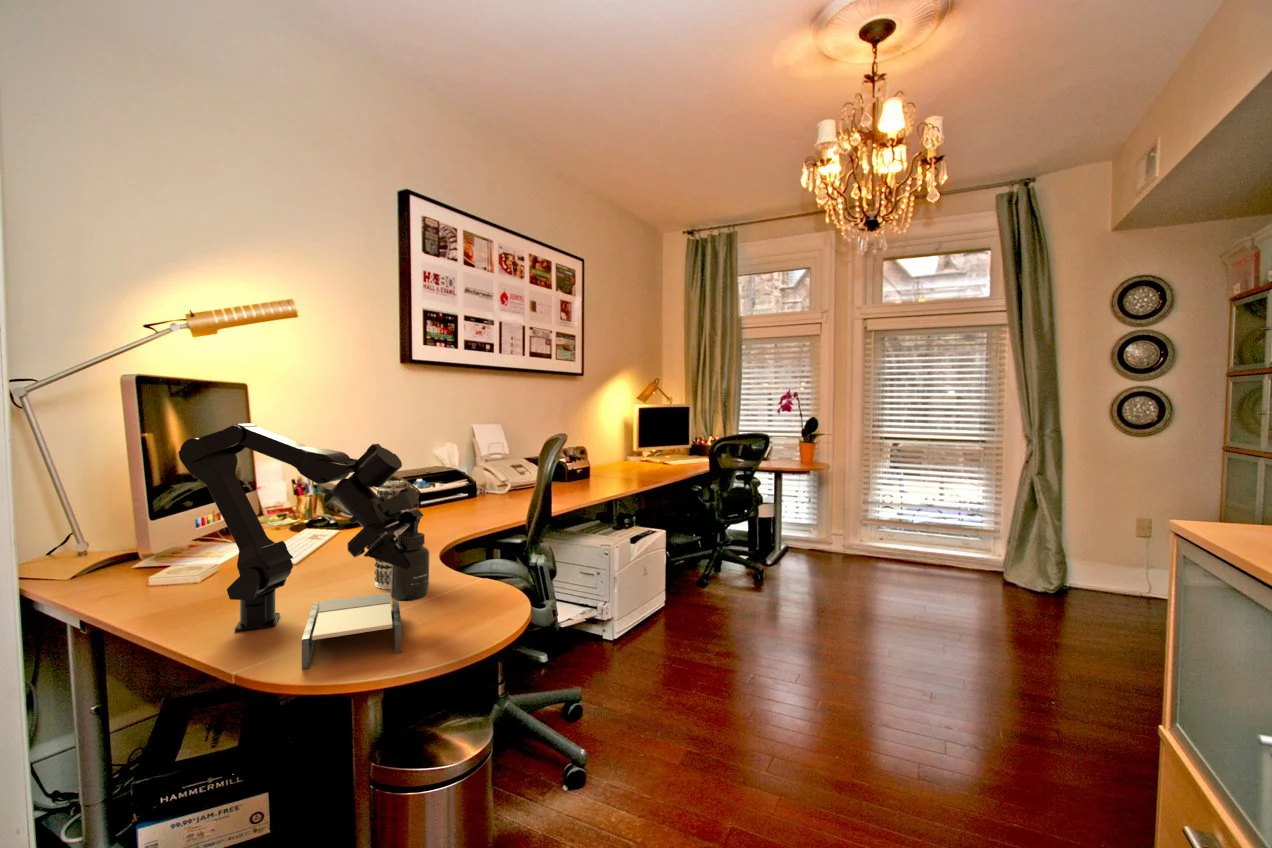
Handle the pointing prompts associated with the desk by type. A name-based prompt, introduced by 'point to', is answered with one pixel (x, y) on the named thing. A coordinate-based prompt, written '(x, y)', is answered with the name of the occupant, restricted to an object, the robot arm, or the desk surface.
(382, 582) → the decorative candle
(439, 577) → the desk surface
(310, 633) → the flap frame
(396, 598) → the supplement bottle
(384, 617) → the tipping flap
